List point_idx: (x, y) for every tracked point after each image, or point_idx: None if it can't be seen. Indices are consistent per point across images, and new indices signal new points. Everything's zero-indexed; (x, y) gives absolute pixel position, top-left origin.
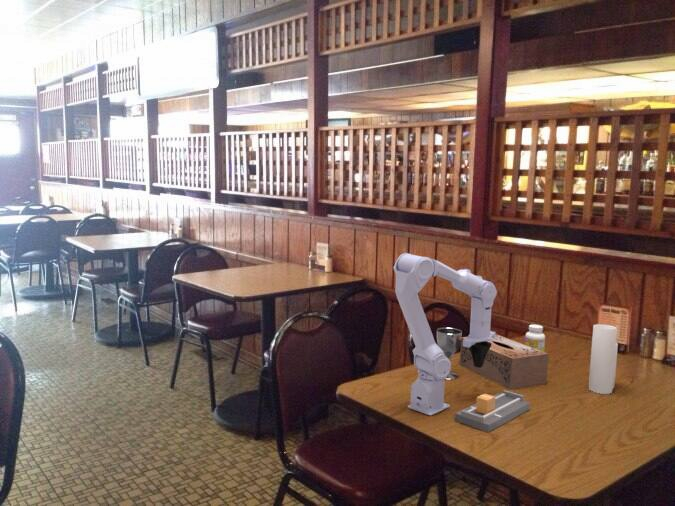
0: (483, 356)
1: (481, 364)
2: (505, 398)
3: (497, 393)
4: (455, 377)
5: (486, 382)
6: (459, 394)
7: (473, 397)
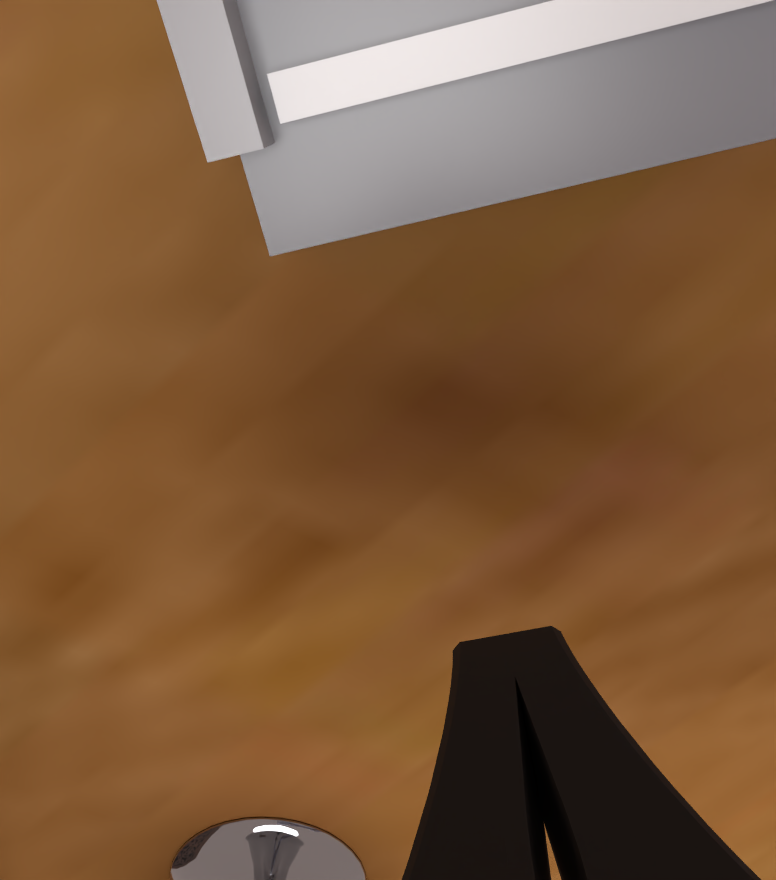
0: (535, 863)
1: (550, 669)
2: (328, 18)
3: (283, 244)
4: (241, 832)
5: (26, 650)
6: (540, 554)
7: (481, 428)
